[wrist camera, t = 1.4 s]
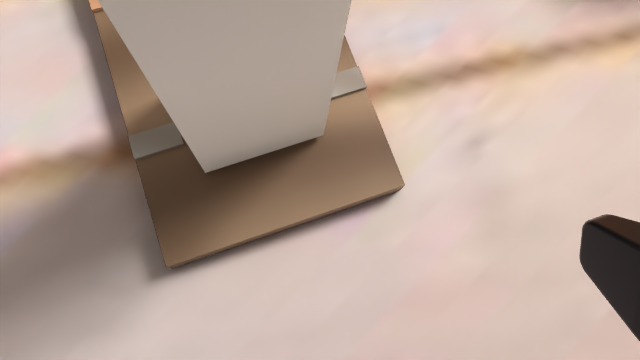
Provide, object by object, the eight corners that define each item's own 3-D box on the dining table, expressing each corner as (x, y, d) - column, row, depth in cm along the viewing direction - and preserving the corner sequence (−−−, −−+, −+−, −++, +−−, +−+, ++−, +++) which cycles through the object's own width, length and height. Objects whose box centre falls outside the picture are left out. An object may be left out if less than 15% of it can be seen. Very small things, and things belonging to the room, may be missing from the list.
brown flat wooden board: (399, 190, 22) (406, 183, 20) (172, 268, 20) (164, 266, 19) (274, -123, 25) (273, -144, 24) (73, -75, 24) (62, -94, 23)
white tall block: (323, 135, 21) (368, -84, 9) (205, 172, 20) (90, -12, 8) (291, 51, 22) (296, -249, 10) (177, 84, 21) (37, -196, 9)
